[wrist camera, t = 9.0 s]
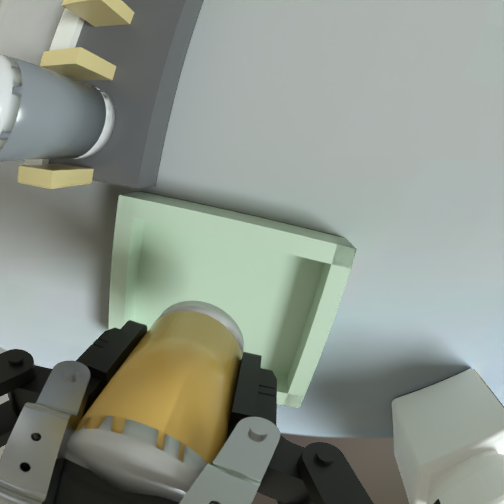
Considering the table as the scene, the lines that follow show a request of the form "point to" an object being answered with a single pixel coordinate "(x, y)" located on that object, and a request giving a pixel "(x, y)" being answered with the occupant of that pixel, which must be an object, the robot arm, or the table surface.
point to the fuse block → (120, 84)
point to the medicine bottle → (451, 442)
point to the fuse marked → (164, 404)
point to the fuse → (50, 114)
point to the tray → (232, 278)
